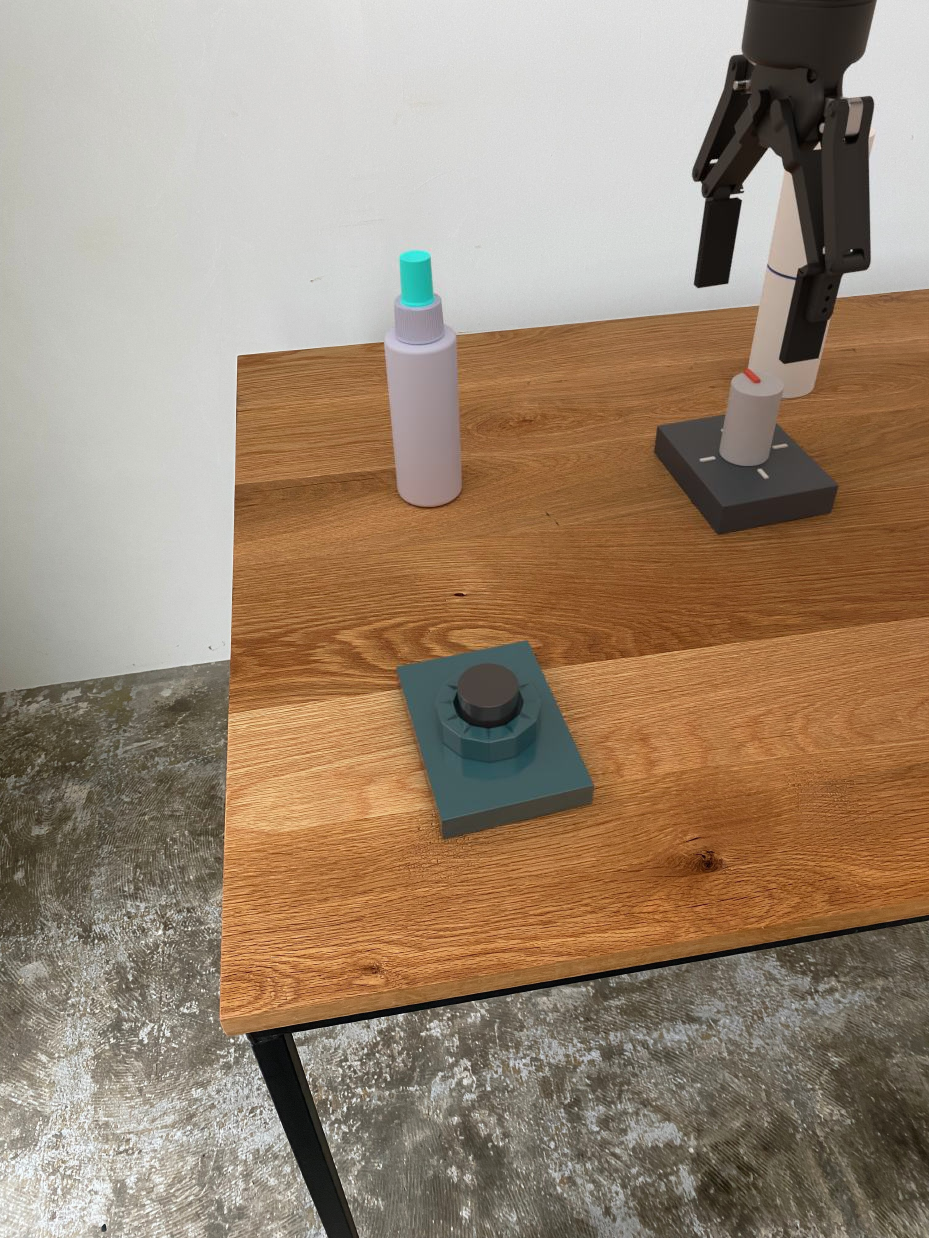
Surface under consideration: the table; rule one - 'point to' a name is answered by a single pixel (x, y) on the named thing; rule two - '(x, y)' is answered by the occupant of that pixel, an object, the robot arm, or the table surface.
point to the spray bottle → (423, 389)
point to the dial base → (743, 477)
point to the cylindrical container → (784, 297)
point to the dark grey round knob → (488, 695)
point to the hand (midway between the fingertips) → (751, 319)
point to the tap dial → (750, 418)
